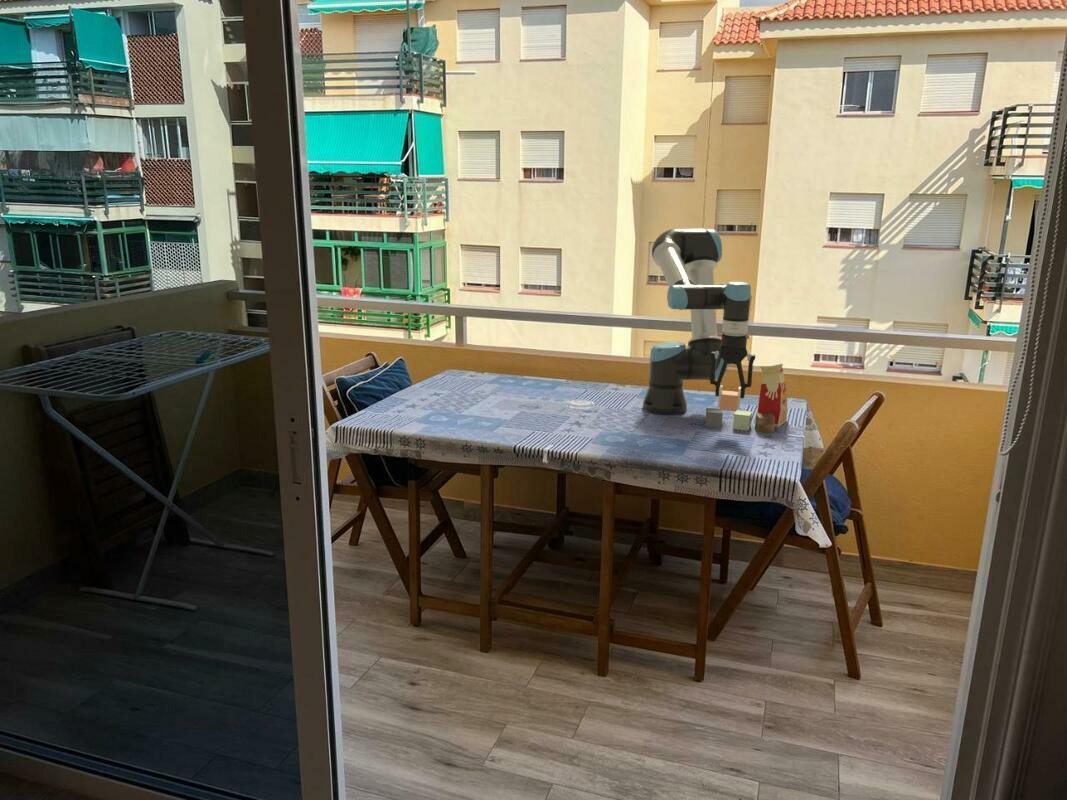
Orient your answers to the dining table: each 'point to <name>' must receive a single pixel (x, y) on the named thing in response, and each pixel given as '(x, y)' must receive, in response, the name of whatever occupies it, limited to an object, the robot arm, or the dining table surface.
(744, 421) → the sage block
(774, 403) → the milk carton
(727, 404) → the terracotta block
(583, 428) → the dining table surface
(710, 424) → the grey beige cube
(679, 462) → the dining table surface
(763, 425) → the walnut block
